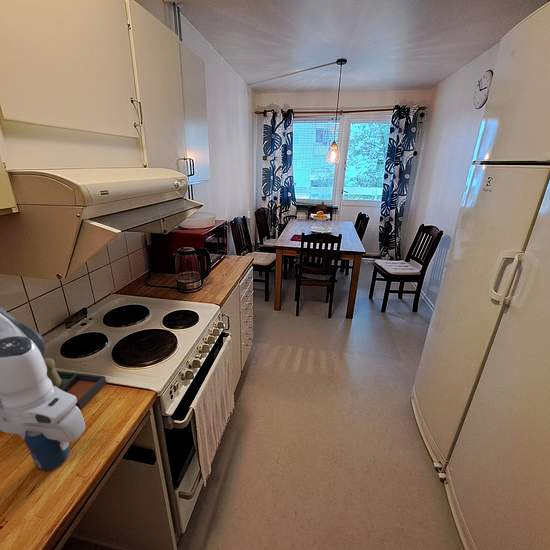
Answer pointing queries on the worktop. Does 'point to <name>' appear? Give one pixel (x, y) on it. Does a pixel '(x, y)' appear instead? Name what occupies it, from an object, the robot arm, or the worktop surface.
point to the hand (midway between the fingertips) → (49, 445)
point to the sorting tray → (81, 386)
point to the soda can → (45, 451)
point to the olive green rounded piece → (53, 373)
